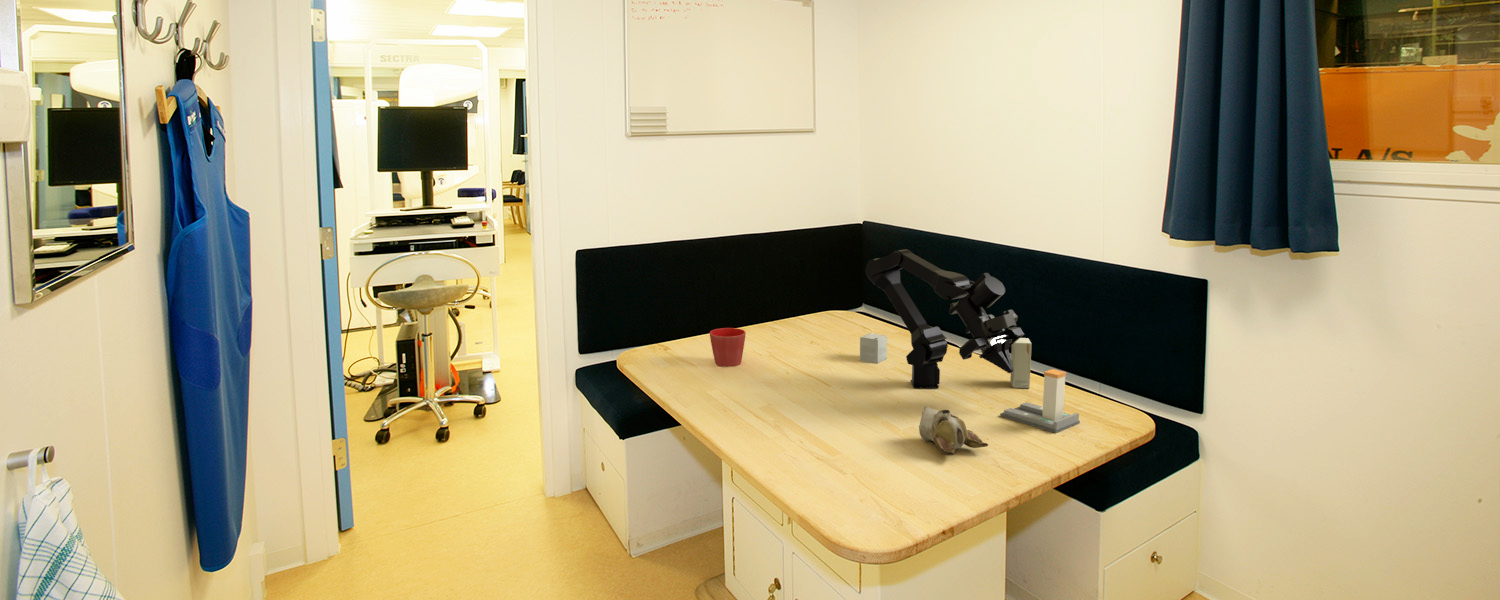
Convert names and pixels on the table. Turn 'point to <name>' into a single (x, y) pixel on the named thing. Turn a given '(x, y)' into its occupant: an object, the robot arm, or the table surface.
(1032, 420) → the console
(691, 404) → the table surface
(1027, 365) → the skincare box
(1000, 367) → the robot arm
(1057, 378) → the fader knob
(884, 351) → the skincare box
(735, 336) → the flower pot
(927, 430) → the ceramic sculpture
